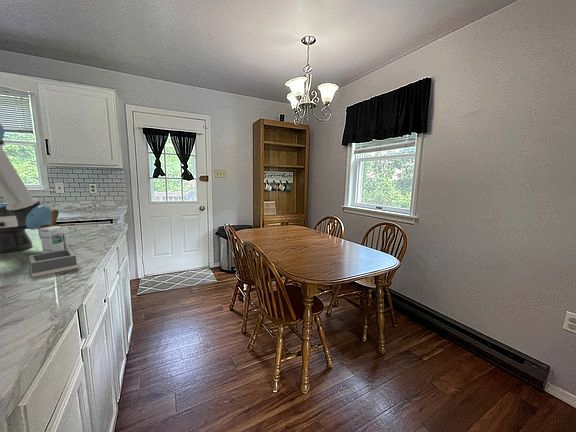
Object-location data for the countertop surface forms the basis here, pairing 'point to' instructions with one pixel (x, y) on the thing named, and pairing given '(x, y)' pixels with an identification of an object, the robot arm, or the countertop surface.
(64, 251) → the box
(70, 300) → the countertop surface
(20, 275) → the countertop surface
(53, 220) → the mortar and pestle
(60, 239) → the syrup box
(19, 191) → the robot arm
